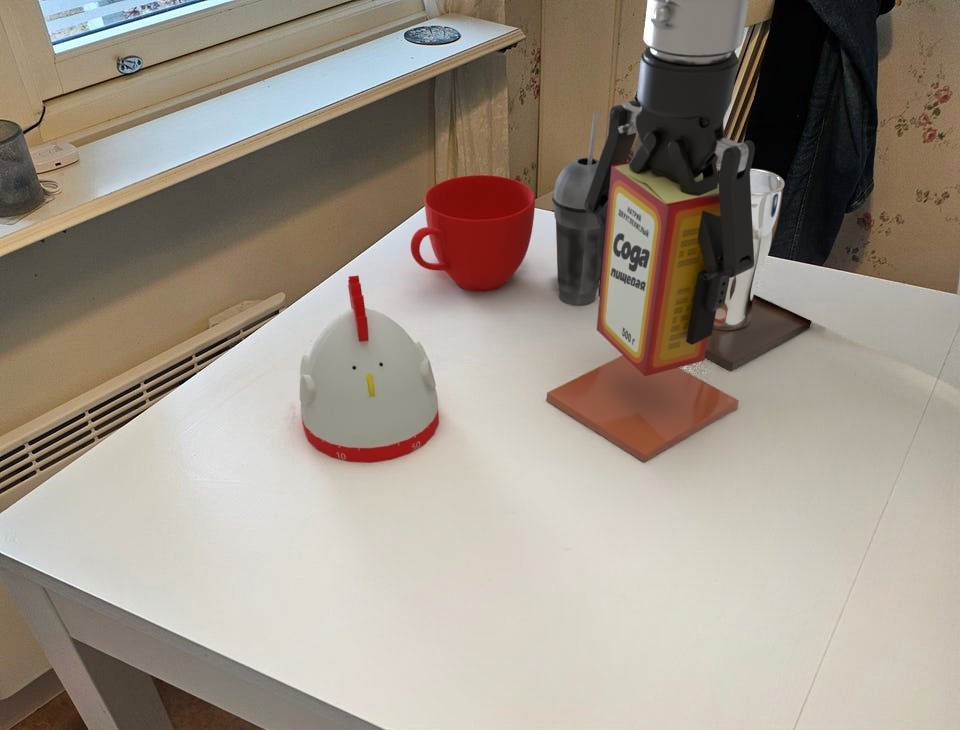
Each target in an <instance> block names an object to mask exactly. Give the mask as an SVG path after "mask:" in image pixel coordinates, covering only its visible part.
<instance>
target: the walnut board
mask: <svg viewBox="0 0 960 730" xmlns="http://www.w3.org/2000/svg"><path fill="white" fill-rule="evenodd" d="M811 325H812V320H811V319H808V318H806V317H804V316H803V315H800V314H798V313H796V312H794V311H791V310H789V309H787V308H784V307H783V306H780V305H779V304H776V303H774V302H772V301H769V300H767V299H765V298H763V297H761V296H758V295H756V294H755V293H754V294H753V305H752V319H751V322H750V323H749V324H748V325H747V326H745V327H743V328H741V329H737V330H720V329H715V328H713V331H712V335H711V336H709V337H708V341H707V346H706V351H705V356H704V359H707V360H708V361H711V362H713V363H714V364H717V365H718V366H720V367H722V368H724V369H726V370H728V371H730V372H732V371H734V370H736V369H738V368H739V367H741V366H744V365H745V364H747V363H749V362H751V361H752V360H755V359H756V358H758V357H760V356H762V355H763V354H765V353H768V352H769V351H772V350H773V349H774V348H776V347H778V346H780V345H781V344H784V343H785V342H787V341H789V340H791V339H793V338H795V337H797V336H798V335H800V334H801V333H804V332H805V331H808V330H809V329H810V328H811Z"/></svg>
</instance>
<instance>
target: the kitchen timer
mask: <svg viewBox="0 0 960 730" xmlns="http://www.w3.org/2000/svg"><path fill="white" fill-rule="evenodd" d="M347 281H348V285H347V287H348V288H347V289H348V296H349V302H350V306H351V308H350V309H347V310H345V311H343V312H341V313H339V314H338V315H337V316H336V317H334V318H333V319H332V320H331V321H329V322H328V324H326V326H325V327H324V328H323V329H322V331H321V333H320V334H319V336H317V339H316V340H315V342H314V344H313V346H312V348H311V350H310V353H309V355H306V354H303V355H302V357H301V361H300V370H299V400H300V401H299V402H300V417H301V423H302V428H303V431H304V434H305V436H306V439H307V441H308V442H309V443H310V444H311V446H313V447H314V448H315V449H316V450H317V451H318V452H321V453H322V454H325V455H326V456H329V457H331V458H333V459H337V460H342V461H347V462H353V463H354V462H355V463H374V462H382V461H383V462H384V461H390V460H394V459H396V458H400V457H402V456H406V455H409V454H411V453H413V452H414V451H416V450H418V449H419V448H421V447H424V446H425V445H426V444H427V443H428V442H429V440H430V439H432V438H433V436H434V435H435V434H436V431H437V429H438V427H439V424H440V419H439V417H440V416H439V400H438V393H437V388H436V387H437V384H436V380H435V376H434V372H433V369H432V365H431V361H430V359H429V357H428V355H427V353H426V350H425V348H424V346H423V345H422V342H420V341H418V340H417V341H416V342H415V341H414V340H413V339H412V337H411V336H410V334H408V332H407V331H406V330H405V329H404V328H403V327H402V326H401V325H400V324H399V323H397V322H396V321H395V320H394V319H392V318H391V317H389V316H388V315H386V314H384V313H382V312H380V311H378V310H375V309H372V308H368V307H366V305H365V298H364V294H363V291H362V290H363V289H362V284H361V282H360V276H359V275H351V276H348V280H347Z"/></svg>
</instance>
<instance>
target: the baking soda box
mask: <svg viewBox="0 0 960 730" xmlns="http://www.w3.org/2000/svg"><path fill="white" fill-rule="evenodd" d="M629 163H630V161H627V162H626V163H621V164H616V165H612V166H611V177H610V188H609V199H608V210H607V221H606V232H605V242H604V253H603V264H602V275H601V286H600V297H599V296H598V297H599V299H598V308H597V309H598V310H597V319H596V321H597V322H596V331H597V332H598V333H599V334H600V335H601V336H602V337H603V338H604V339H605V340H606V341H608V343H609V344H610V345H612V347H614V348H615V350H616V351H618V352H619V353H620V354H621V356H622V355H623V356H624V357H625V358H626V359H627V360H628V361H629V362H630V363H631V364H632V365H633V366H635V367H636V368H637V369H638V370H639V371H640V372H641V373H642V374H643V375H644V376H648V375H652V374H656V373H660V372H663V371H667V370H671V369H675V368H682V367H685V366H690V365H693V364H697V363H701V362H704V361H705V357H704V356H705V351H706V346H707V341H708V337H707V338H705V339H703V340H701V341H699V342H697V343H695V344H693V345H691V344H689V343H687V342H686V339H687V333H688V327H689V322H690V316H691V310H692V304H693V299H694V293H695V287H696V281H697V276H698V273H700V272H702V271H704V270H706V267H705V263H704V259H703V255H702V252H701V248H700V244H699V240H698V233H699V227H700V221H701V215H702V211H705V212H708V213H711V214H714V215H717V216H720V217H721V213H720V198H719V183H718V186H717V187H718V188H716V189H714V190H712V191H710V192H707V193H705V194H703V195H700V196H697V195H693V194H686V193H683V192H681V188H680V185H679V184H678V183H676V182H673V181H671V180H670V179H669V178H668V177H667V176H665V175H656V174H654V173H652V169H650V170H647V171H644V172H641V173H639V174H636V173H634V172H633V171H632V169H630V168H629V167H630V166H629ZM702 179H703V174H702V173H701V174H700V175H699V176H698V177H696V178H694V180H695V181H696V182H698V181H701V180H702ZM719 259H720V256H719Z"/></svg>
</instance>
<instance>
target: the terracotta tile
mask: <svg viewBox="0 0 960 730" xmlns="http://www.w3.org/2000/svg"><path fill="white" fill-rule="evenodd" d="M545 401H546V402H548V403H549V404H551V405H552V406H554V407H555V408H557V409H559V410H560V411H562V412H563V413H565V414H567V415H568V416H570V417H571V418H573V419H575V420H577V421H578V422H579V423H581V424H583V425H584V426H586V427H587V428H588V429H590V430H591V431H594V432H595V433H597V434H598V435H600V436H601V437H603V438H604V439H606V440H607V441H609V442H611V443H612V444H614V445H615V446H617V447H619V448H620V449H622V450H623V451H625V452H627V453H628V454H630V455H631V456H633V457H634V458H636V459H637V460H639V461H641V462H643V463H645V462H647V461H648V460H651V459H652V458H654V457H656V456H657V455H659V454H661V453H662V452H664V451H666V450H667V449H670V448H671V447H674V446H675V445H676V444H678V443H680V442H681V441H683V440H685V439H687V438H689V437H690V436H692V435H694V434H695V433H697V432H699V431H701V430H702V429H704V428H707V427H708V426H709V425H711V424H713V423H714V422H716V421H718V420H720V419H722V418H723V417H725V416H727V415H729V414H730V413H732V412H734V411H735V410H737V409H738V407H739V403H740V401H739V399H737V398H735V397H733V396H731V395H730V394H729V393H726V392H725V391H723V390H720V389H718V388H717V387H715V386H713V385H711V384H710V383H707V382H706V381H704V380H702V379H700V378H699V377H696V376H695V375H693V374H691V373H689V372H687V371H686V370H684V369H682V368H681V367H679V368H675V369H671V370H667V371H663V372H660V373H656V374H652V375H648V376H644V375H643V374H642V373H641V372H640V371H639V370H638V369H637V368H636V367H635V366H633V365H632V364H631V363H630V362H629V361H628V360H627V359H626V358H625V357H624V356H623V355H622V354H621V355H620V356H618V357H615V358H613V359H612V360H610V361H608V362H606V363H604V364H602V365H600V366H598V367H596V368H594V369H592V370H590V371H587V372H586V373H584V374H582V375H579V376H578V377H576V378H573V379H572V380H569V381H567V382H565V383H564V384H561V385H560V386H557V387H556V388H553V389H552V390H550V391H547V392H546V400H545Z"/></svg>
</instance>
